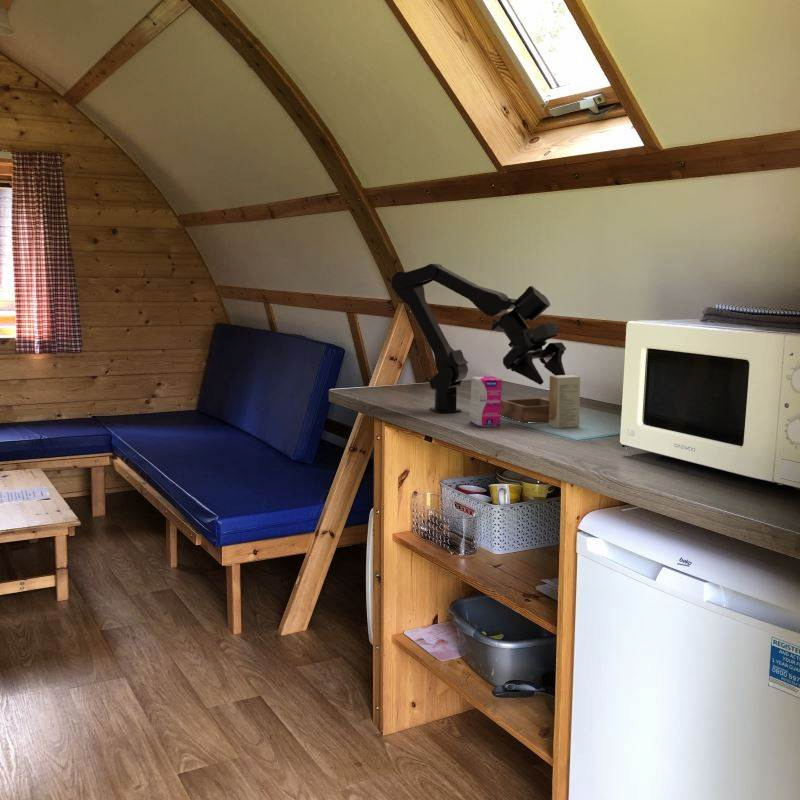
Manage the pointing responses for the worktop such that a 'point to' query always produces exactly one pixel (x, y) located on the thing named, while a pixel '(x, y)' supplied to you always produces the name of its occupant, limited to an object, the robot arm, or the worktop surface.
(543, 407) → the shallow wooden tray
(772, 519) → the worktop surface
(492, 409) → the supplement box
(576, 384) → the skincare box
